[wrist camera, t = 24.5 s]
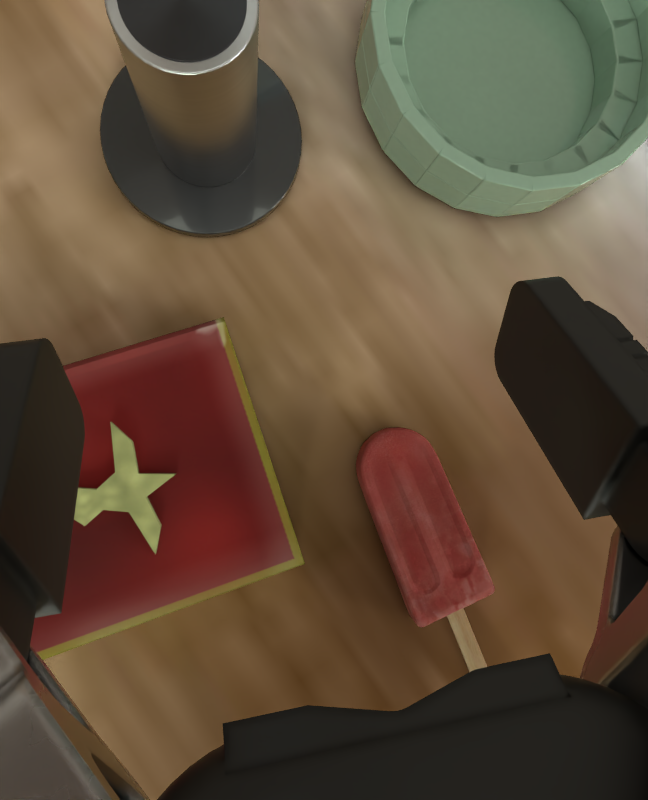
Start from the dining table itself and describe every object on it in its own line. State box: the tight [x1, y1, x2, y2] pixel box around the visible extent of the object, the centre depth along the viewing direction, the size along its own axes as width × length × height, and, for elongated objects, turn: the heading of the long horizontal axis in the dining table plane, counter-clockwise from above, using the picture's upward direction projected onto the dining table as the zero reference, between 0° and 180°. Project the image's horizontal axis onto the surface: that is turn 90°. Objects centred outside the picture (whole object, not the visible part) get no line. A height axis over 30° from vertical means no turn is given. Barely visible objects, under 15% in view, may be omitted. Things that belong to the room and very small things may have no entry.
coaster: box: [100, 58, 302, 237], centre depth 29 cm, size 10×10×1 cm
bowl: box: [355, 0, 648, 217], centre depth 29 cm, size 15×15×4 cm
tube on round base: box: [105, 0, 259, 187], centre depth 23 cm, size 11×5×10 cm, turn 8°
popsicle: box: [356, 427, 495, 672], centre depth 30 cm, size 4×2×15 cm
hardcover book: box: [30, 317, 305, 660], centre depth 26 cm, size 12×21×4 cm, turn 108°
